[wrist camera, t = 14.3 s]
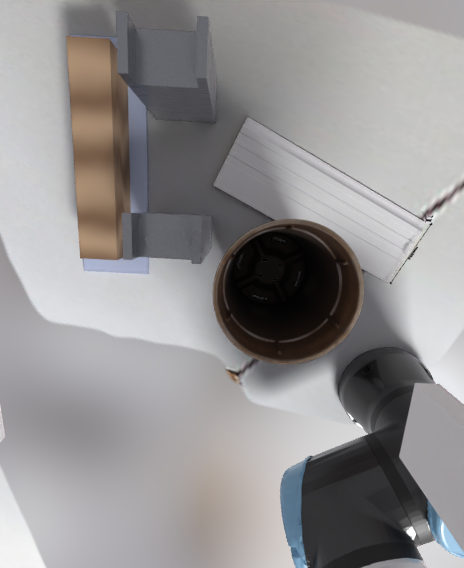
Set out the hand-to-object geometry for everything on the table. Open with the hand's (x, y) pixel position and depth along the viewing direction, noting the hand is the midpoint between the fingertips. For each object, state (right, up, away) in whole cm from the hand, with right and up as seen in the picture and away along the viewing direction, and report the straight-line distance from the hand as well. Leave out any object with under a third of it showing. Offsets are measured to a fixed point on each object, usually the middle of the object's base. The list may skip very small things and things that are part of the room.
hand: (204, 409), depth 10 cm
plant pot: (+7, +6, +38) cm, 40 cm away
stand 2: (-7, +12, +37) cm, 39 cm away
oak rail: (-17, +21, +34) cm, 44 cm away
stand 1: (-6, +30, +33) cm, 45 cm away
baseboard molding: (+15, +17, +36) cm, 43 cm away
